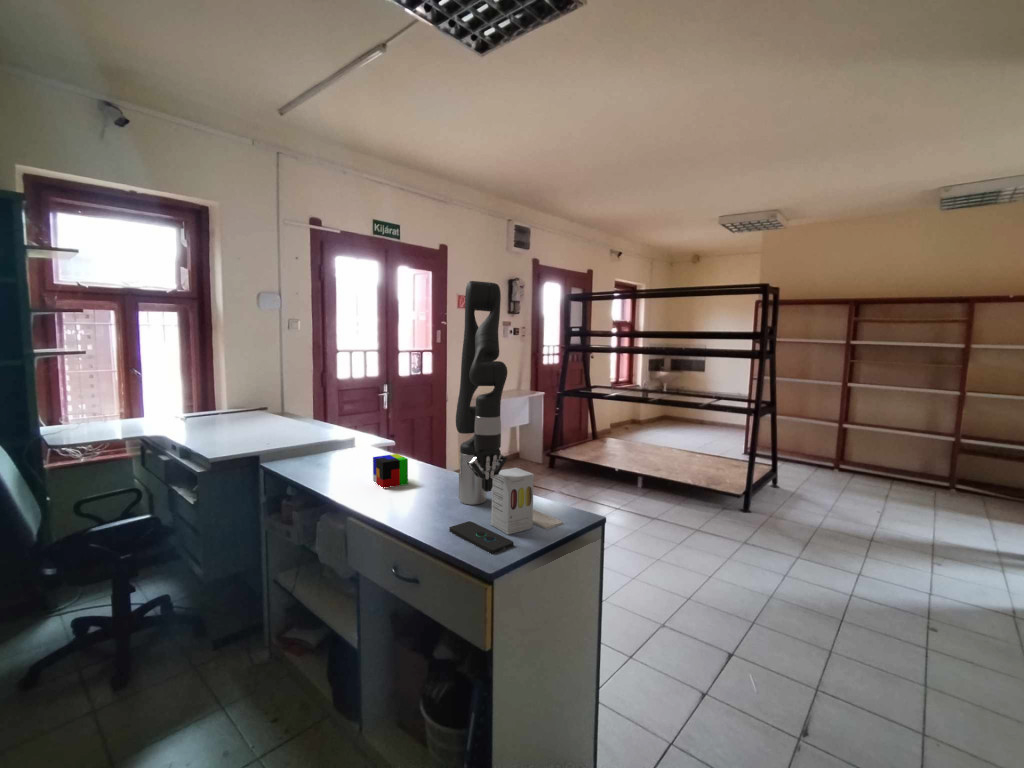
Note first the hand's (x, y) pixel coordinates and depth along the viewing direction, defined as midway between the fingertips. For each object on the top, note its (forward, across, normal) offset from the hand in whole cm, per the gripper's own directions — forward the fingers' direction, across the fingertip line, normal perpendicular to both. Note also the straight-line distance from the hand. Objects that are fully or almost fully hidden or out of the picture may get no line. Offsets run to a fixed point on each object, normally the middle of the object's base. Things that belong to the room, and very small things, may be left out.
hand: (487, 490), depth 135 cm
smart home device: (+14, +3, +1) cm, 14 cm away
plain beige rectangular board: (+13, -20, 0) cm, 24 cm away
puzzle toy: (+13, +1, -62) cm, 63 cm away
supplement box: (+13, -9, 0) cm, 16 cm away
